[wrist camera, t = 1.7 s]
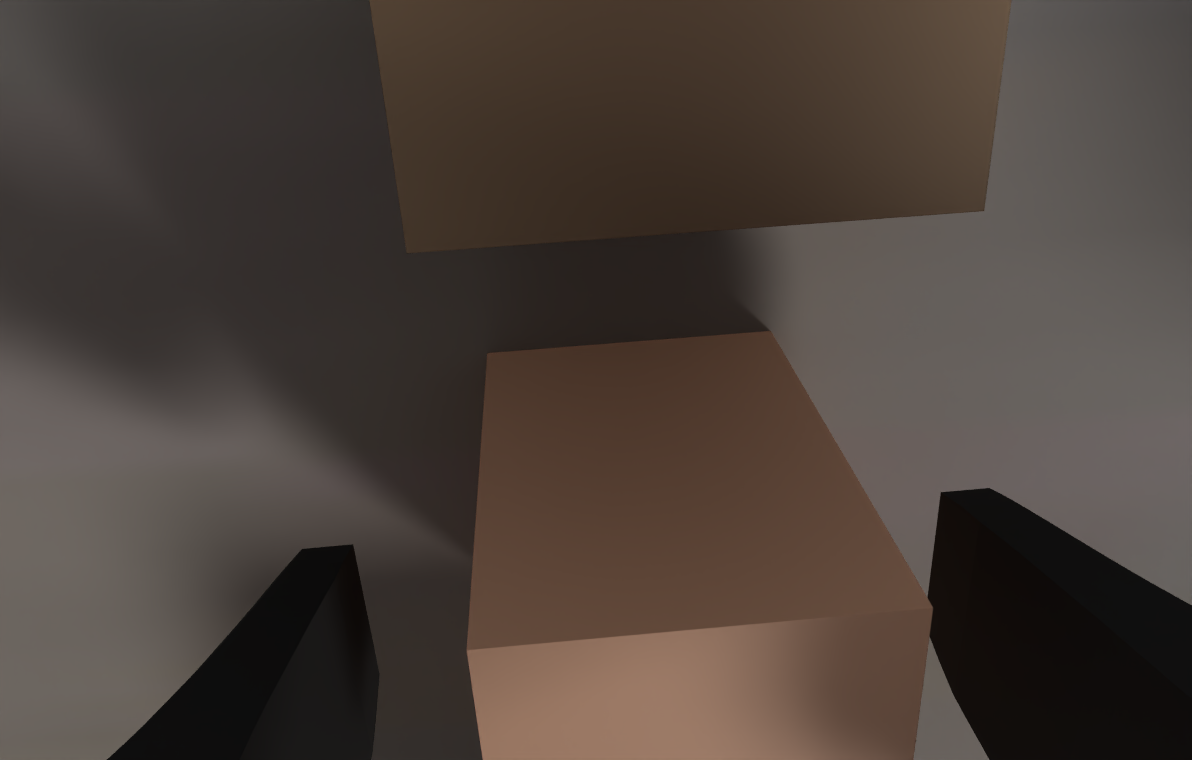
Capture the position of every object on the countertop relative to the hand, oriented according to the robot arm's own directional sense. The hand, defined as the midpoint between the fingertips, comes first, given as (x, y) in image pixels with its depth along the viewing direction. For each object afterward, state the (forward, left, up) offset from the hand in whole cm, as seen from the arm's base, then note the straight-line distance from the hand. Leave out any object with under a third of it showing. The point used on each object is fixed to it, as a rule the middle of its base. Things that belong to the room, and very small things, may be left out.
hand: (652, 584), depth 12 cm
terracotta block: (0, 0, -3) cm, 3 cm away
